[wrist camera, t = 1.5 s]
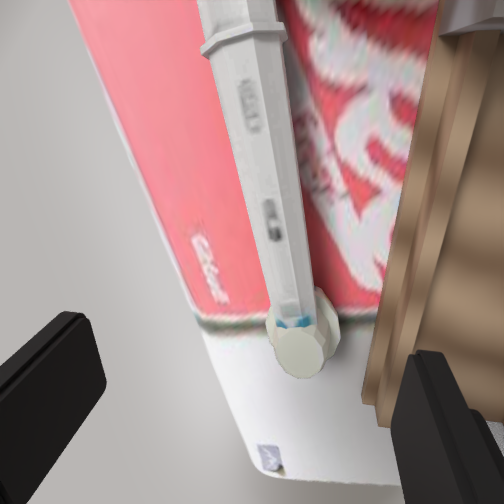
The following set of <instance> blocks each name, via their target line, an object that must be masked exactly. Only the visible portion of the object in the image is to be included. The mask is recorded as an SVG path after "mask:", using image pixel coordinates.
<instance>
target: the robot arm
mask: <svg viewBox="0 0 504 504" xmlns="http://www.w3.org/2000/svg"><path fill="white" fill-rule="evenodd" d="M106 383H107V381H106V377H105V373H104V370H103V366H102V363H101V359H100V355H99V352H98V348H97V345H96V341H95V337H94V334H93V331H92V327H91V323H90V321H89V319H87V318H86V316H85V315H84V314H83V313H77V312H68V311H64V312H61V313H60V314H58V315H57V316H56V317H55V318H54V319H53V320H52V321H51V322H49V323H48V324H47V325H46V326H45V327H44V328H43V329H42V330H41V331H39V332H38V333H37V334H36V335H35V336H34V337H33V338H32V339H30V340H29V341H28V342H27V343H26V344H25V345H24V346H22V347H21V348H20V349H19V350H18V351H17V352H16V353H15V354H13V355H12V356H11V357H10V358H9V359H8V360H7V361H6V362H5V363H3V364H2V365H1V366H0V504H26V503H27V502H28V501H29V500H30V498H31V497H32V495H33V494H34V492H35V491H36V490H37V488H38V487H39V485H40V484H41V482H42V481H43V479H44V478H45V477H46V475H47V474H48V472H49V471H50V469H51V468H52V467H53V465H54V464H55V462H56V461H57V459H58V458H59V456H60V455H61V453H62V452H63V451H64V449H65V448H66V446H67V445H68V443H69V442H70V441H71V439H72V438H73V436H74V434H75V433H76V432H77V430H78V429H79V427H80V426H81V425H82V423H83V422H84V420H85V419H86V418H87V416H88V415H89V413H90V412H91V410H92V409H93V407H94V406H95V405H96V403H97V402H98V400H99V399H100V397H101V396H102V394H103V393H104V391H105V389H106ZM391 437H392V442H393V446H394V451H395V456H396V461H397V466H398V470H399V475H400V480H401V485H402V489H403V494H404V499H405V504H504V457H503V455H502V453H501V451H500V449H499V447H498V445H497V443H496V441H495V439H494V437H493V435H492V433H491V431H490V429H489V427H488V425H487V423H486V421H485V419H484V417H483V416H482V414H481V413H480V412H479V411H478V410H475V409H469V407H468V405H467V403H466V401H465V399H464V396H463V394H462V392H461V390H460V388H459V386H458V384H457V382H456V379H455V377H454V375H453V373H452V371H451V369H450V367H449V364H448V362H447V360H446V358H445V356H444V354H443V353H442V352H438V351H429V350H417V351H416V353H415V355H414V354H409V355H408V358H407V362H406V365H405V369H404V373H403V377H402V381H401V385H400V388H399V392H398V396H397V400H396V404H395V407H394V411H393V415H392V419H391Z"/></svg>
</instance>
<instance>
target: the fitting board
mask: <svg viewBox="0 0 504 504" xmlns="http://www.w3.org/2000/svg"><path fill="white" fill-rule="evenodd" d="M417 350H429V351H438V352H442V353H443V354H444V356H445V358H446V360H447V362H448V364H449V367H450V369H451V371H452V373H453V375H454V377H455V379H456V382H457V384H458V386H459V388H460V390H461V392H462V394H463V396H464V399H465V401H466V403H467V405H468V407H469V409H475V410H478V411H479V412H480V413H481V414H482V416H483V417H484V419H485V420H486V421H494V422H501V423H503V425H504V0H439V5H438V10H437V15H436V20H435V25H434V30H433V36H432V41H431V46H430V51H429V56H428V61H427V66H426V71H425V76H424V81H423V86H422V91H421V96H420V101H419V106H418V111H417V116H416V121H415V126H414V131H413V136H412V141H411V146H410V151H409V156H408V161H407V166H406V171H405V177H404V182H403V187H402V192H401V197H400V202H399V207H398V212H397V217H396V222H395V227H394V232H393V237H392V242H391V247H390V252H389V257H388V262H387V267H386V272H385V277H384V282H383V287H382V292H381V297H380V302H379V307H378V313H377V318H376V323H375V328H374V333H373V338H372V343H371V348H370V353H369V358H368V363H367V368H366V373H365V378H364V383H363V388H362V393H361V396H362V403H363V404H367V405H375V411H376V417H377V422H378V427H385V428H391V419H392V415H393V411H394V407H395V404H396V400H397V396H398V392H399V388H400V385H401V381H402V377H403V373H404V369H405V365H406V362H407V358H408V355H409V354H414V355H415V353H416V351H417Z"/></svg>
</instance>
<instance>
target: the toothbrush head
mask: <svg viewBox="0 0 504 504" xmlns="http://www.w3.org/2000/svg"><path fill="white" fill-rule="evenodd" d="M197 4H198V9H199V14H200V18H201V23H202V28H203V32H204V37H205V41H206V43H204V44H203V45H202V46H201V47H200V51H201V55H202V56H204V57H205V58H207V59H209V60H210V63H211V67H212V71H213V75H214V79H215V83H216V87H217V91H218V95H219V99H220V103H221V107H222V111H223V115H224V119H225V123H226V127H227V131H228V135H229V139H230V143H231V147H232V151H233V155H234V159H235V163H236V167H237V171H238V175H239V179H240V183H241V187H242V191H243V195H244V199H245V203H246V207H247V211H248V215H249V219H250V223H251V226H252V230H253V234H254V238H255V242H256V246H257V250H258V254H259V258H260V262H261V266H262V270H263V274H264V278H265V282H266V286H267V290H268V294H269V298H270V302H271V306H270V309H269V313H268V316H267V319H266V322H265V323H266V328H267V333H268V337H269V342H270V343H271V345H272V346H273V347H274V351H275V356H276V359H277V361H278V363H279V364H280V366H281V367H282V368H283V369H284V371H285V372H286V373H288V374H290V375H292V376H294V377H296V378H311V377H312V376H314V375H315V374H317V373H318V372H320V371H321V370H322V368H323V367H324V364H325V362H326V360H328V359H329V358H331V357H332V356H333V355H334V353H335V350H336V348H337V346H338V343H339V341H340V338H341V337H340V328H339V321H338V314H337V312H336V310H335V309H334V308H333V305H332V302H331V301H330V300H329V299H328V297H327V296H326V295H325V293H324V292H323V291H322V289H321V288H319V287H317V286H315V285H314V283H313V275H312V267H311V260H310V252H309V245H308V237H307V229H306V222H305V214H304V207H303V199H302V191H301V184H300V176H299V169H298V161H297V153H296V146H295V138H294V131H293V123H292V115H291V108H290V100H289V93H288V85H287V77H286V70H285V62H284V55H283V47H282V43H283V42H285V41H287V40H288V35H287V31H286V29H285V26H284V23H283V22H279V20H278V14H277V8H276V1H275V0H197Z"/></svg>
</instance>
